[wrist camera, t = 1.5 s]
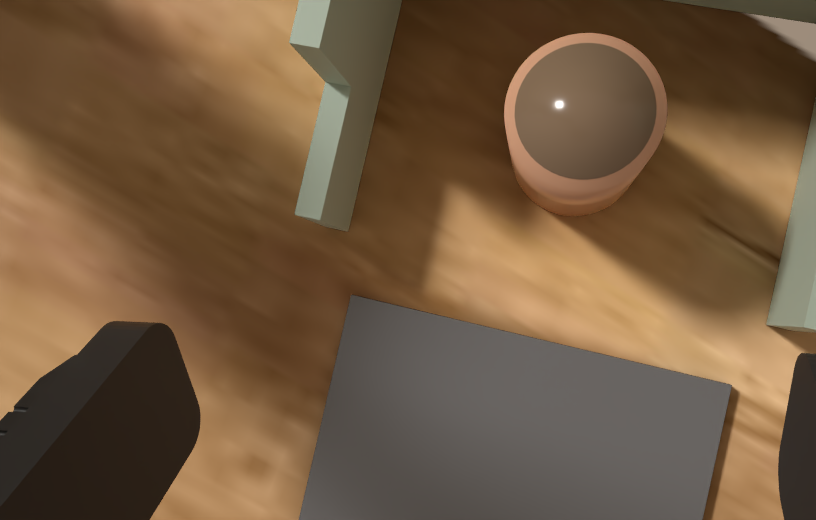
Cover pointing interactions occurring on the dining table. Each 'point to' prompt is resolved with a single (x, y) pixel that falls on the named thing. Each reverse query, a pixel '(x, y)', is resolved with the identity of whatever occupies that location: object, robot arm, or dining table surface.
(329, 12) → the stepped shelf frame
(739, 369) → the dining table surface
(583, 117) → the pink and brown cylinder
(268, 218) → the dining table surface
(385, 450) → the charcoal mat
